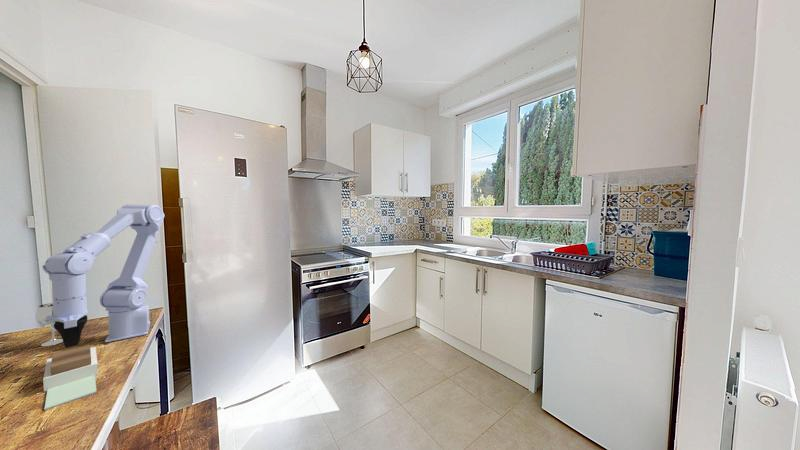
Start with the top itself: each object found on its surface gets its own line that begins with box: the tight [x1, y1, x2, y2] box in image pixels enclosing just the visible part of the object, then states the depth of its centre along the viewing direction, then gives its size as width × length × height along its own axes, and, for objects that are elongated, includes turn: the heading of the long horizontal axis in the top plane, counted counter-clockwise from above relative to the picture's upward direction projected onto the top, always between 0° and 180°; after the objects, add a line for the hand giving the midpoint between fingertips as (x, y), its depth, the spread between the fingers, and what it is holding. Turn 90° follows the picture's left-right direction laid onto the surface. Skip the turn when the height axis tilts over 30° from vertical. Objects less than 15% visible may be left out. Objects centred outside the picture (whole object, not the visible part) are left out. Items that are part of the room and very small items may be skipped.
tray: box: [42, 346, 99, 392], centre depth 65 cm, size 12×8×3 cm, turn 51°
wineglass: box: [35, 302, 64, 347], centre depth 79 cm, size 6×6×12 cm
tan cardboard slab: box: [50, 344, 91, 376], centre depth 65 cm, size 9×6×2 cm, turn 51°
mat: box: [43, 375, 97, 411], centre depth 59 cm, size 9×7×1 cm
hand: (72, 345), depth 71 cm, fingers closed
